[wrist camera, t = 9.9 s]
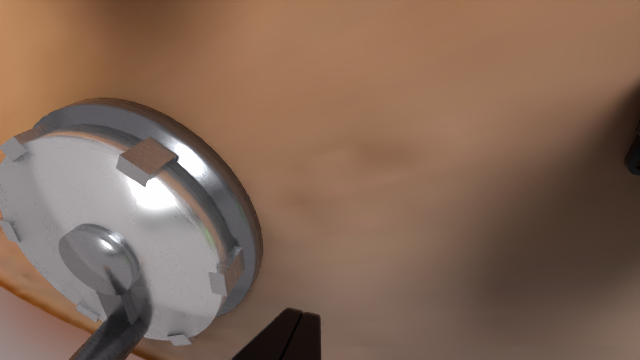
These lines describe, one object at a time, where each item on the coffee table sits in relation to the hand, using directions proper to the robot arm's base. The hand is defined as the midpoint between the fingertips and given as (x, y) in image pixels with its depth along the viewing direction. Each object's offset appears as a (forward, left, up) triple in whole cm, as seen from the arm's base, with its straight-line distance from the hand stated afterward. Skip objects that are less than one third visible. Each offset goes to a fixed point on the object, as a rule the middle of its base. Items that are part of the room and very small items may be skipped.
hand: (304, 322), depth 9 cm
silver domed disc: (+16, +9, -10) cm, 21 cm away
